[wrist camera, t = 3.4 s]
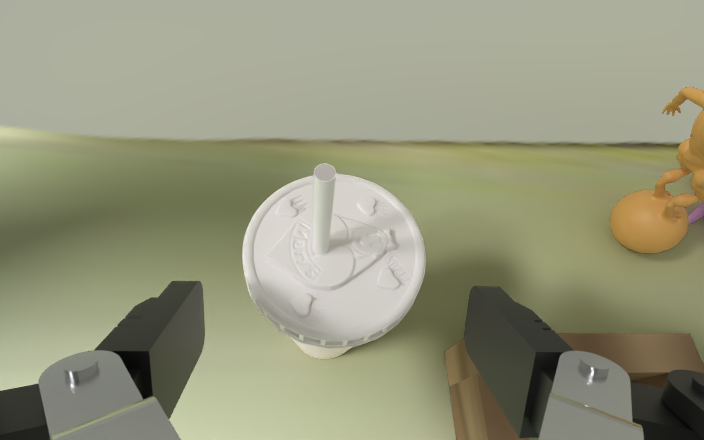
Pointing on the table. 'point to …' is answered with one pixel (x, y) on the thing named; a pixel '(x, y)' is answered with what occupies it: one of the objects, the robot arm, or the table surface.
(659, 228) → the figurine
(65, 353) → the table surface
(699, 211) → the toy chair
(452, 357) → the holder
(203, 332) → the robot arm
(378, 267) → the smoothie
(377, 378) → the table surface
